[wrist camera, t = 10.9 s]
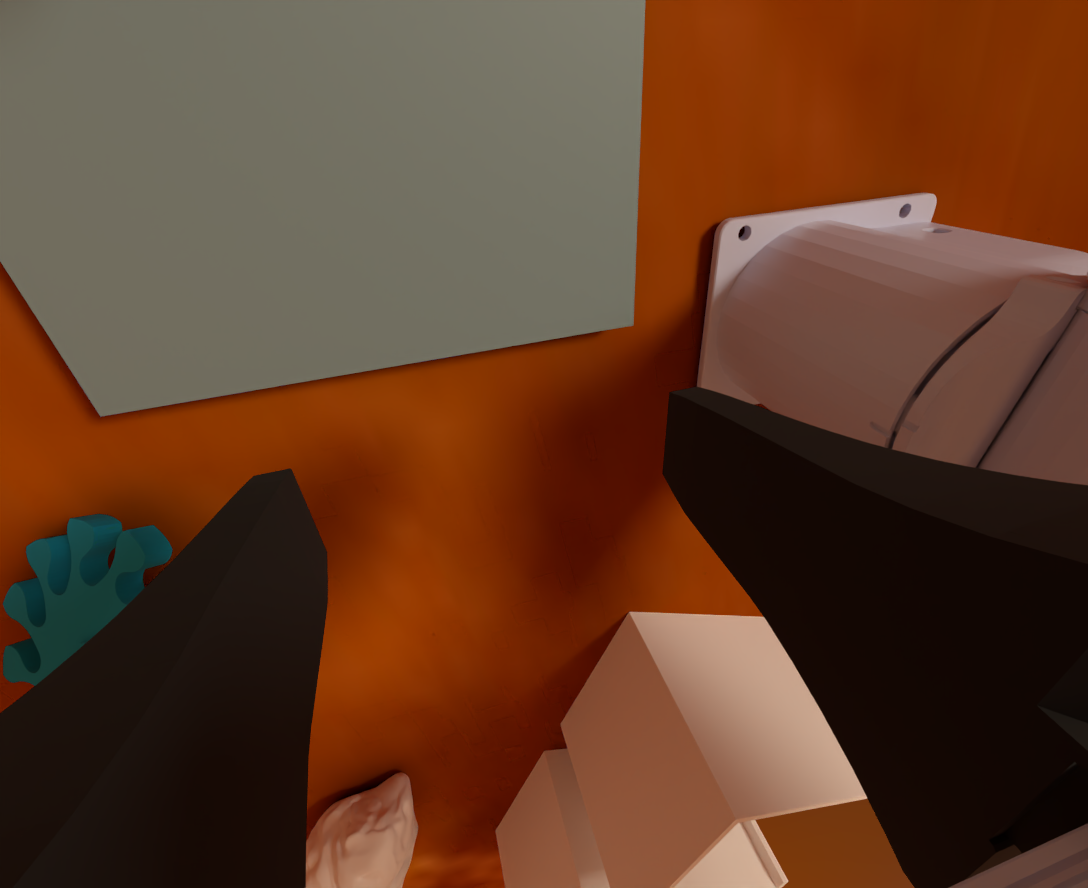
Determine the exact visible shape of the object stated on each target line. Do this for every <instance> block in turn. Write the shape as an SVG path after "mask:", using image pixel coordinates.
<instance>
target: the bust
mask: <svg viewBox="0 0 1088 888" xmlns="http://www.w3.org/2000/svg"><path fill="white" fill-rule="evenodd" d="M417 832H418V824H417V821H416V818H415V814H414V811H413V797H412V792H411V784H410V779H409V777H408V776H407V775H406V774H405V773H397V774H395V775H393V776H392V777H390V778H388V779H387V780H385V781H384V782H383V783H382V784H380V785H379V786H377V787H375V788H373V789H370V790H367V791H364V792H361V793H359V794H356V795H353V796H350V797H347V798H345V799H342V800H339V801H337V802H335V803H334V804H332V805H331V806H330V807H329V808H328V809H327V810H326V811H325V812H324V813H323V815H322V816H321V817H320V818H319V820H318V821H317V823H316V825H315V827H314V828H313V829H312V831H311V833H310V835H309V837H308V839H307V841H306V888H402V886H403V882H404V878H405V875H406V873H407V870H408V868H409V865H410V862H411V859H412V855H413V848H414V844H415V840H416V836H417Z"/></svg>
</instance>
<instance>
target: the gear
mask: <svg viewBox="0 0 1088 888" xmlns="http://www.w3.org/2000/svg"><path fill="white" fill-rule="evenodd" d="M115 547H116V551H115V556H114V560H113V563H112V565H111V568H110V569H109V566H108V557H109V554H110V552H111V551H112V550H113V549H114V548H115ZM26 554H27V559H28V562H29V564H30V566H31V567H32V568H33V570H34V571H35V573H36V575H37V577H38V578H34V579H30V580H26V581H21V582H17V583H14V584H13V585H12V586H11V587H10V589H9V590H8V593H7V595H6V597H5V600H4V602H3V605H4V609H5V611H6V613H7V614H8V615H9V616H10V617H11V618H12V619H14V620H16V621H18V622H19V623H20V624H21V625H22V626H23V627H24V628H25V629H26V630H27V631H28V633H29V634H30V636H31V637H32V638H30V639H27V640H24V641H21V642H18V643H15V644H11V645H8V646H6V647H5V651H4V657H3V675H4V676H5V678H6V679H7V680H8V681H10V682H13V683H15V682H19V681H24V682H28V683H31V684H32V685H34V686H36V685H37V684H38V683H39V682H40V681H42V680H43V679H44V678H45V677H46V676H48V675H49V674H50V673H51V672H52V671H54V670H55V669H56V668H57V667H58V666H60V665H61V664H62V663H63V662H64V661H65V660H67V659H68V658H69V657H70V656H71V655H73V654H74V653H75V652H76V651H77V650H79V649H80V648H81V647H82V646H83V645H84V644H85V643H87V642H88V641H89V640H90V639H91V638H92V637H93V636H94V635H96V634H97V633H98V632H99V631H100V630H101V629H102V628H103V627H104V626H106V625H107V624H108V623H109V622H110V621H111V620H112V619H113V618H114V617H115V616H117V615H118V614H119V613H120V612H121V611H122V610H123V609H124V608H125V607H126V606H127V605H128V604H129V603H130V602H131V601H132V600H133V599H134V598H135V597H136V596H137V595H138V594H139V593H140V592H141V591H142V590H143V589H144V588H145V586H144V583H143V573H144V571H145V569H147V568H151V567H155V566H159V565H162V564H165V563H166V562H167V561H168V560H169V559H170V557H171V554H172V547H171V545H170V543H169V542H168V540H167V539H166V537H165V536H164V535H163V534H162V533H161V531H159V530H158V529H157V528H156V527H155V526H154V525H151V526H145V527H140V528H135V529H130V530H125V531H123V532H122V524H121V522H120V521H119V520H117V519H116V518H114V517H112V516H108V515H104V514H95V515H89V516H82V517H76V518H70V520H69V522H68V526H67V534H66V535H60V536H55V537H49V538H44V539H39V540H36V541H34V542H32V543H31V544H29V545H28V546H27V547H26Z"/></svg>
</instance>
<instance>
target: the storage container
mask: <svg viewBox="0 0 1088 888" xmlns="http://www.w3.org/2000/svg"><path fill="white" fill-rule="evenodd" d="M560 726H561V729H562V732H563V736H564V739H565V742H566V745H567V749H558V750H547V751H544V752H543V754H542V755H541V757H540V758H539V760H538V762H537V763H536V765H535V767H534V768H533V770H532V772H531V773H530V775H529V777H528V778H527V780H526V781H525V783H524V785H523V786H522V788H521V790H520V791H519V793H518V795H517V796H516V798H515V799H514V801H513V803H512V804H511V806H510V808H509V809H508V811H507V813H506V814H505V816H504V818H503V819H502V821H501V822H500V824H499V826H498V827H497V829H496V837H497V843H498V849H499V855H500V860H501V866H502V872H503V878H504V884H505V888H781V887H783V886H784V885H785V884H786V883H787V882H788V880H787V878H786V876H785V874H784V873H783V871H782V869H781V867H780V865H779V863H778V861H777V860H776V858H775V856H774V854H773V852H772V850H771V849H770V847H769V845H768V843H767V841H766V839H765V838H764V836H763V834H762V832H761V830H760V828H759V826H758V825H757V823H756V821H755V820H757V819H762V818H767V817H772V816H778V815H783V814H788V813H793V812H798V811H804V810H809V809H814V808H820V807H825V806H830V805H835V804H840V803H846V802H851V801H857V800H862V799H867V796H866V794H865V792H864V790H863V788H862V786H861V784H860V782H859V781H858V779H857V777H856V775H855V773H854V771H853V769H852V767H851V765H850V763H849V761H848V760H847V758H846V756H845V754H844V752H843V750H842V749H841V747H840V745H839V743H838V741H837V739H836V738H835V736H834V734H833V732H832V730H831V728H830V727H829V725H828V723H827V721H826V719H825V717H824V716H823V714H822V712H821V710H820V708H819V707H818V705H817V703H816V702H815V700H814V698H813V696H812V695H811V693H810V691H809V690H808V688H807V686H806V685H805V683H804V681H803V679H802V678H801V676H800V674H799V673H798V671H797V669H796V667H795V666H794V664H793V662H792V661H791V659H790V657H789V656H788V654H787V653H786V651H785V649H784V648H783V646H782V645H781V643H780V641H779V640H778V638H777V637H776V635H775V634H774V632H773V630H772V629H771V627H770V626H769V624H768V622H767V621H766V619H765V618H764V617H753V616H726V615H700V614H674V613H648V612H629V613H628V614H627V616H626V617H625V619H624V621H623V622H622V624H621V626H620V627H619V629H618V631H617V632H616V634H615V636H614V637H613V639H612V640H611V642H610V644H609V645H608V647H607V649H606V650H605V652H604V654H603V655H602V657H601V658H600V660H599V662H598V663H597V665H596V667H595V668H594V670H593V672H592V673H591V675H590V677H589V678H588V680H587V681H586V683H585V685H584V686H583V688H582V690H581V691H580V693H579V695H578V696H577V698H576V699H575V701H574V703H573V704H572V706H571V708H570V709H569V711H568V713H567V714H566V716H565V718H564V719H563V721H562V722H561V724H560Z"/></svg>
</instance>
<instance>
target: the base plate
mask: <svg viewBox="0 0 1088 888" xmlns="http://www.w3.org/2000/svg"><path fill="white" fill-rule="evenodd" d="M644 23H645V0H0V262H1V263H2V265H3V266H4V268H5V270H6V271H7V273H8V274H9V276H10V277H11V279H12V280H13V282H14V283H15V285H16V287H17V288H18V290H19V291H20V293H21V294H22V296H23V297H24V299H25V300H26V302H27V304H28V305H29V307H30V308H31V310H32V311H33V313H34V314H35V316H36V317H37V319H38V321H39V322H40V324H41V325H42V327H43V328H44V330H45V331H46V333H47V335H48V336H49V338H50V339H51V341H52V342H53V344H54V345H55V347H56V348H57V350H58V352H59V353H60V355H61V356H62V358H63V359H64V361H65V362H66V364H67V365H68V367H69V369H70V370H71V372H72V373H73V375H74V376H75V378H76V379H77V381H78V383H79V384H80V386H81V387H82V389H83V390H84V392H85V393H86V395H87V396H88V398H89V400H90V401H91V403H92V404H93V406H94V407H95V409H96V410H97V412H98V413H99V415H100V417H101V416H107V415H113V414H119V413H125V412H130V411H136V410H142V409H148V408H154V407H160V406H165V405H171V404H177V403H183V402H189V401H195V400H200V399H206V398H212V397H218V396H224V395H230V394H236V393H241V392H247V391H253V390H259V389H265V388H271V387H276V386H282V385H288V384H294V383H300V382H306V381H311V380H317V379H323V378H329V377H335V376H341V375H347V374H352V373H358V372H364V371H370V370H376V369H382V368H387V367H393V366H399V365H405V364H411V363H417V362H422V361H428V360H434V359H440V358H446V357H452V356H458V355H463V354H469V353H475V352H481V351H487V350H493V349H498V348H504V347H510V346H516V345H522V344H528V343H533V342H539V341H545V340H551V339H557V338H563V337H569V336H574V335H580V334H586V333H592V332H598V331H604V330H609V329H615V328H621V327H627V326H633V321H634V294H635V267H636V240H637V213H638V185H639V158H640V131H641V104H642V77H643V50H644Z"/></svg>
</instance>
